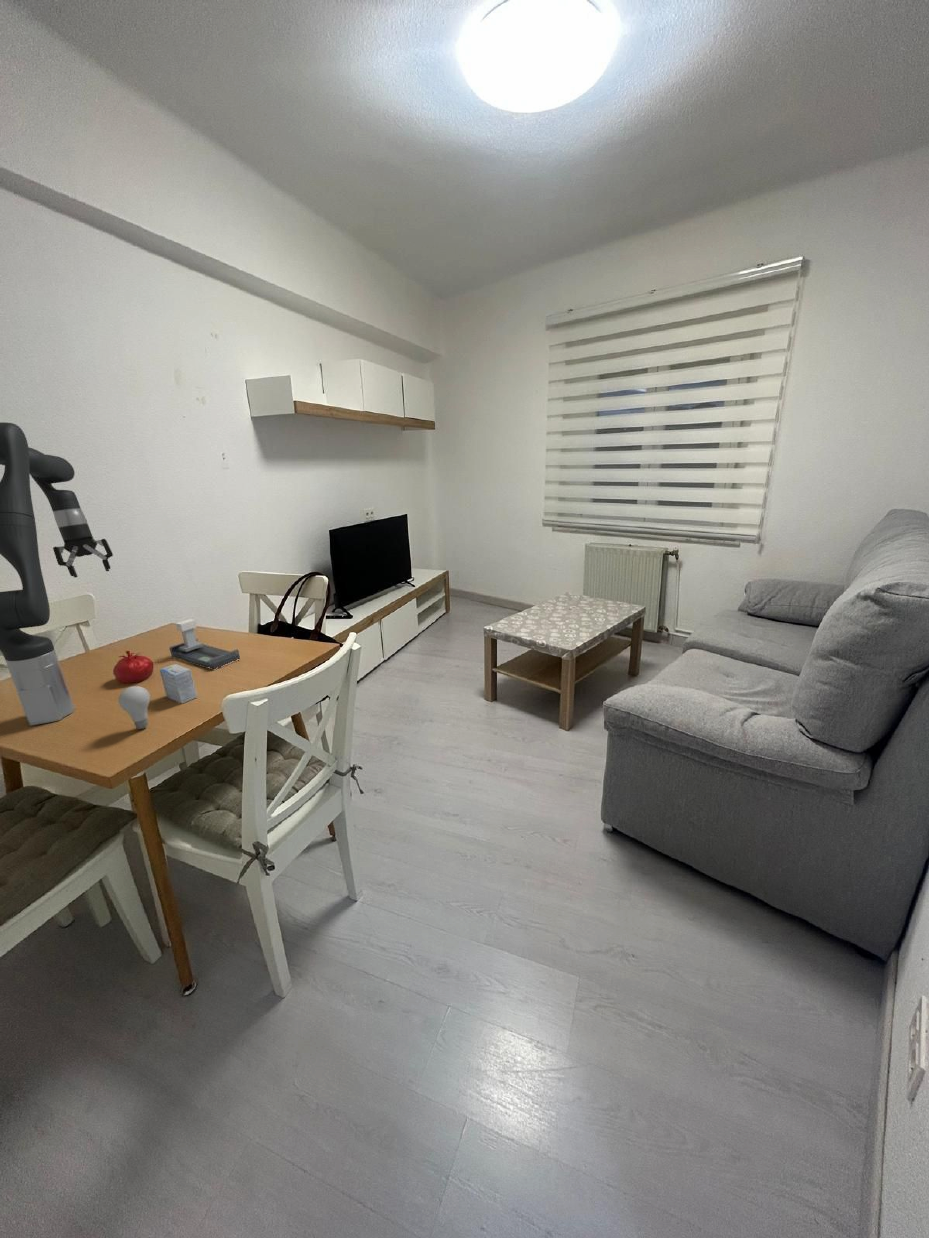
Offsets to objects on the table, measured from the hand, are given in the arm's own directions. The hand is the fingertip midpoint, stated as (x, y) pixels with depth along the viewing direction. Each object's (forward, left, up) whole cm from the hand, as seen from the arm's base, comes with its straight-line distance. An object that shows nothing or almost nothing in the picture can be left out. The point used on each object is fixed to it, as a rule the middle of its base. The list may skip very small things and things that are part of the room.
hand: (92, 574), depth 152 cm
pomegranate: (-29, -11, -28) cm, 42 cm away
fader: (-15, -25, -26) cm, 39 cm away
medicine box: (-50, -25, -28) cm, 62 cm away
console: (-21, -29, -28) cm, 45 cm away
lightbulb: (-64, -18, -28) cm, 72 cm away
